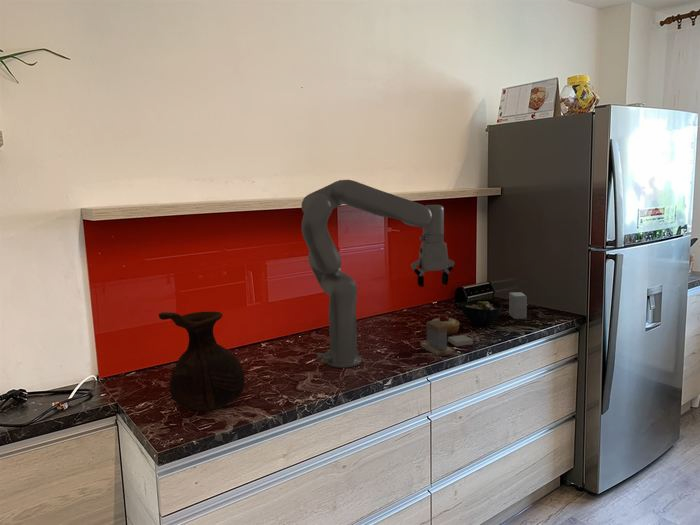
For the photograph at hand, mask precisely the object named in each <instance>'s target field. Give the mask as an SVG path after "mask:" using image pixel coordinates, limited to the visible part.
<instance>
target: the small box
mask: <svg viewBox="0 0 700 525" xmlns="http://www.w3.org/2000/svg"><path fill="white" fill-rule="evenodd" d="M508 294H509V296H508V298H509V299H508V309H509V310H508V311H509V312H508V315H509V316H510V317H511V318H513V319H514V320H520V319H521V320H523V319H527V313H528V312H527V311H528V308H527V305H528V304H527V300H528V299H527V295H525V294H524V293H523V292H521V291H519V292H509V293H508Z"/></svg>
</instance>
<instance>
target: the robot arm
mask: <svg viewBox="0 0 700 525" xmlns="http://www.w3.org/2000/svg"><path fill="white" fill-rule="evenodd" d="M342 205H346V206H350V207H352V208H355V209H358V210H361V211H364V212H366V213H369V214H372V215H375V216H379V217H383V218H384V217H385V218H391V219H394V220H397V221H398V220H399V221H401V222H402V223H403V224H405V225H406V226H411V227H417V228H422V234H421V235H422V236H419V241H421V244H420V248H419V253H418V259H417V260H415V261H414V262H411V264H410V267H411V269H412V272H414V274H415V275H416V276H417V285H418V287H420V288H424V287H425V277H424V274H425V273H426V272H434V271H435V272H436V271H441V284H442V285H445V286H448V282H449V275H450V273H451V272H452V271H453V268H454V265H455V263H456V262H455V261H454V260H452V259H450V258H449V254H448V246H447V242H444V241H445V240H444V238H445V236H444V234H445V222H444V221H445V208H444V206H443V205H441V204H426V205H424V204H421V203H419V202H416V201H413V200H411V199H407V198H404V197H401V196H398V195H395V194H392V193H389V192H388V191H387V192H386V191H383V190H380V189H378V188H375V187H372V186H369V185H367V184H363V183H362V182H361V183H360V182H359V181H355V180H351V179H340V180H336V181H334V182H333V183H330V184H328V185H326V186H323V187H322V188H319V189H317V190H315V191H313V192H311V193H308V194H307V195H306V196H305V197H303V199H302V201H301V211H302V212H303V216H302V219H301V234H302V237H303V239H304V241H305V244H306V246H307V248H308V251H309V252H308V255H307V256H308V258H307V259H308V263H309V266H310V268H311V270H312V272H313V274H314V276H315V278H316V281H317V282H318V284H319V286H320V288H321V289H322V291H323V292H324V294H326V295H327V296H328V297H329V304H328V321H329V322H328V324H329V327H328V328H329V348H328V349H327V351H325V353H317V354H316V357H317V360H323V361H326V364H327V366H331V367H332V368H338V369H339V368H342V369H343V368H352V367H356V366H359V365H360V364H362V362H363V357H362V356H361V355H359V354H358V344H357V343H358V339H357V338H358V334H357V300H358V299H357V296H358V287H357V283H356V282H355V280H354V279H353V278H352V277H351V276H350V275H349V274H347V273H344V272H343V271H342V268H341V265H342V257H341V254H340V252H339V251H338V249H337V247H336V245H335V243H334V241H333V239H332V237H331V235H330V231H329V230H328V221H329V219H330V217H331V215H332V212H333V210H334V209H336V208H338V207H340V206H342ZM417 266H418V268H417Z"/></svg>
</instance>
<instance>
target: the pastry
mask: <svg viewBox="0 0 700 525" xmlns="http://www.w3.org/2000/svg"><path fill="white" fill-rule="evenodd" d="M446 313H449V314H450V315H452V313H451V312H450V311H445V313H444V314H440V315H439V317H437V318H433V319H432V320H431V321H437V322H439V323H442V324H444V325H446V326H447V337H450V336H455V335H456V334H458V332H459V329H460V321H459V320H458V319H456V318H452V317H449V316H448V315H446Z"/></svg>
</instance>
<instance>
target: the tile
mask: <svg viewBox="0 0 700 525" xmlns="http://www.w3.org/2000/svg"><path fill="white" fill-rule="evenodd" d="M448 342H449V343H450V344H452V345H454V347H462V346H469V345H471V346H472V345H474V340H473V339H472V338H471V337H468V336H467V335H466V334H462V335H461V334H460V335H451V336H447V343H448Z"/></svg>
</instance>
